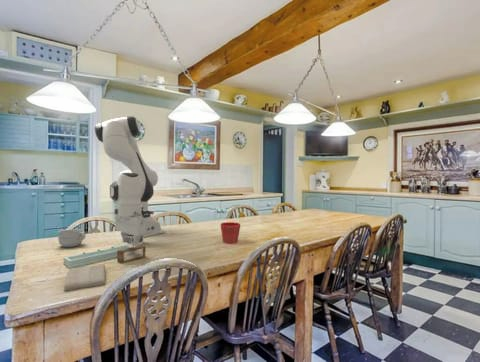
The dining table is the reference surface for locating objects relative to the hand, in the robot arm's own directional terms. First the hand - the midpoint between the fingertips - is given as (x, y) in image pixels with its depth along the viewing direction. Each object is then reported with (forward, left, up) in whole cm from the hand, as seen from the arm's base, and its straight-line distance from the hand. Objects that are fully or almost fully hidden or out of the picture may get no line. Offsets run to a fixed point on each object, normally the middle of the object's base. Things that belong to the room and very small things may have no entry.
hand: (130, 243), depth 116 cm
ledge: (+7, -12, -7) cm, 15 cm away
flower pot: (-51, +10, -7) cm, 52 cm away
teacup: (+8, -43, -7) cm, 44 cm away
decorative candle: (-15, -25, -7) cm, 30 cm away
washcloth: (+20, +8, -8) cm, 23 cm away
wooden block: (-1, -1, -7) cm, 7 cm away
